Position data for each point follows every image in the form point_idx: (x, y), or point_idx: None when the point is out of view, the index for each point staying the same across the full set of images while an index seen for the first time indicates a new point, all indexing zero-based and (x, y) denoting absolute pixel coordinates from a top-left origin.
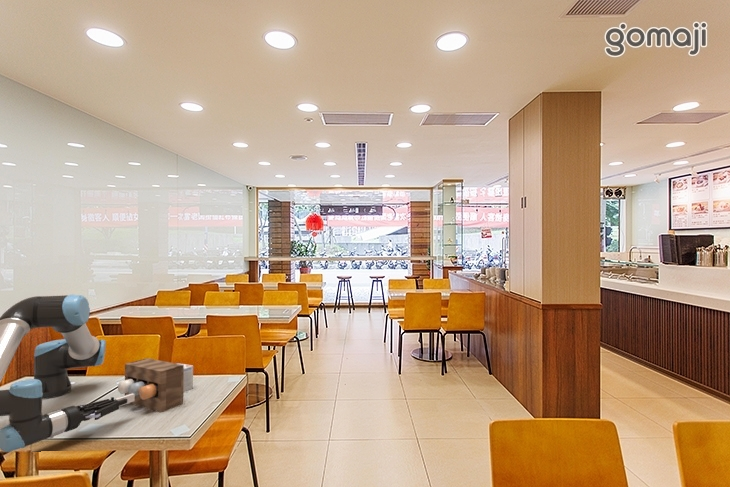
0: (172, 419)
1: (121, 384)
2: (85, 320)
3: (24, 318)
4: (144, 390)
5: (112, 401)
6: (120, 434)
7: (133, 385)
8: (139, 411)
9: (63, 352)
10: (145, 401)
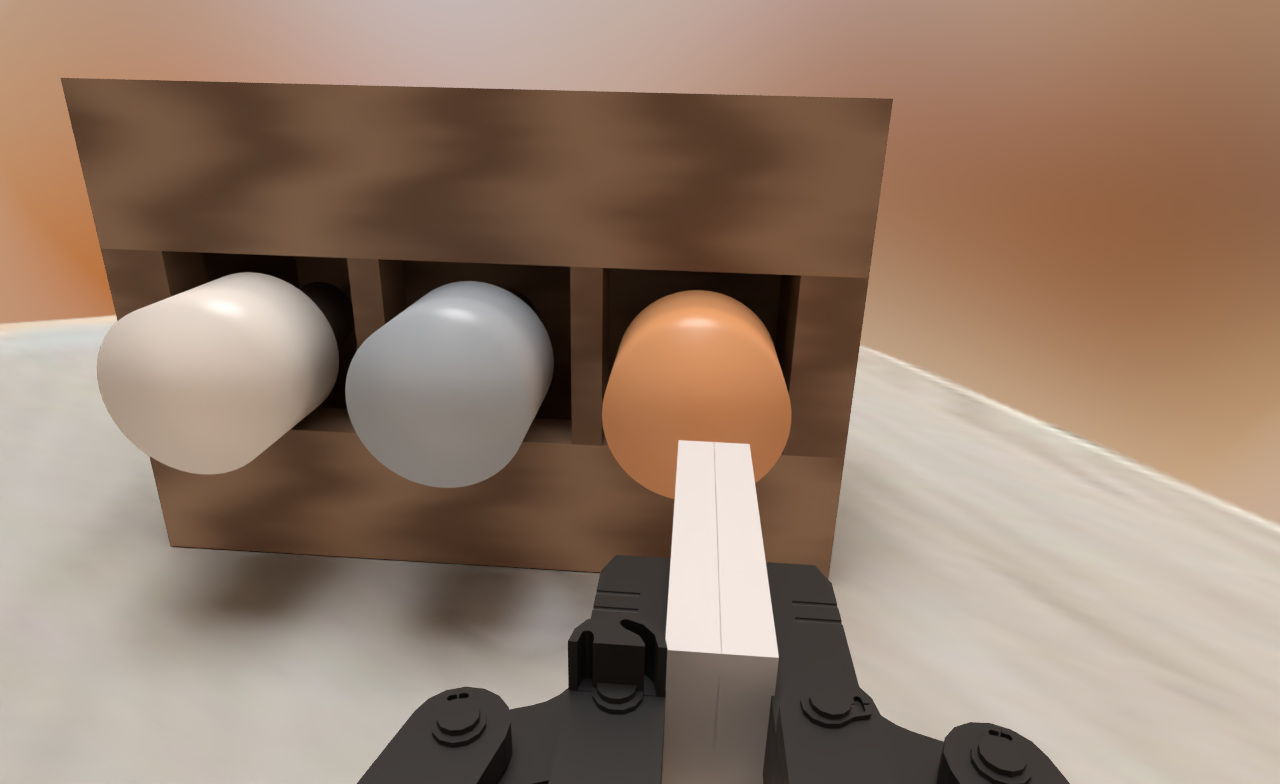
0: (1156, 651)
1: (175, 346)
2: None
3: None
4: (734, 375)
5: (655, 733)
6: None
7: (461, 331)
8: (569, 633)
9: None
10: (547, 506)
